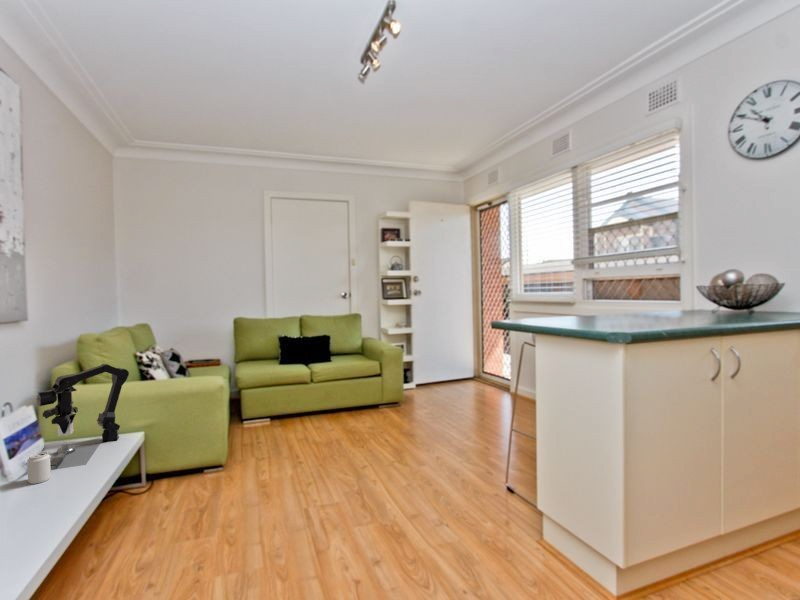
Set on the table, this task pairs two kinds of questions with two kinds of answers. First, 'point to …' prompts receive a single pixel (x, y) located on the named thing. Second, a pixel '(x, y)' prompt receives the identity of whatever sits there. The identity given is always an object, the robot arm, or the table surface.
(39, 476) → the can
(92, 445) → the mat
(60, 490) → the table surface
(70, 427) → the socket
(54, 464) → the ratchet
